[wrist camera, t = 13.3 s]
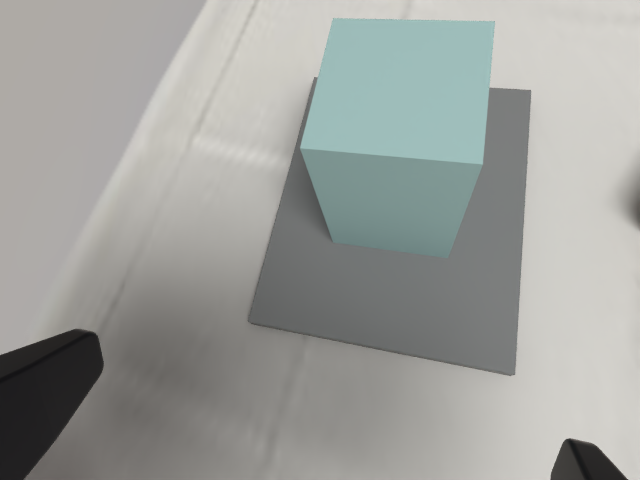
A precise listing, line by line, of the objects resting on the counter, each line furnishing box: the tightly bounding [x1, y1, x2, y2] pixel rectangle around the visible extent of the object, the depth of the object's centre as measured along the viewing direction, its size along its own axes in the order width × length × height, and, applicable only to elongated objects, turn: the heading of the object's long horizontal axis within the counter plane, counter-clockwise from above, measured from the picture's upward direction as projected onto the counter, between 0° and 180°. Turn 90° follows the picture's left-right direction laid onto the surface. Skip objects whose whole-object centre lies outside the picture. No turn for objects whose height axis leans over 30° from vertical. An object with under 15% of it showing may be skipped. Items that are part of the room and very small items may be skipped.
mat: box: [248, 77, 531, 376], centre depth 24 cm, size 16×13×1 cm
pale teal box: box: [300, 18, 495, 258], centre depth 19 cm, size 6×6×9 cm
